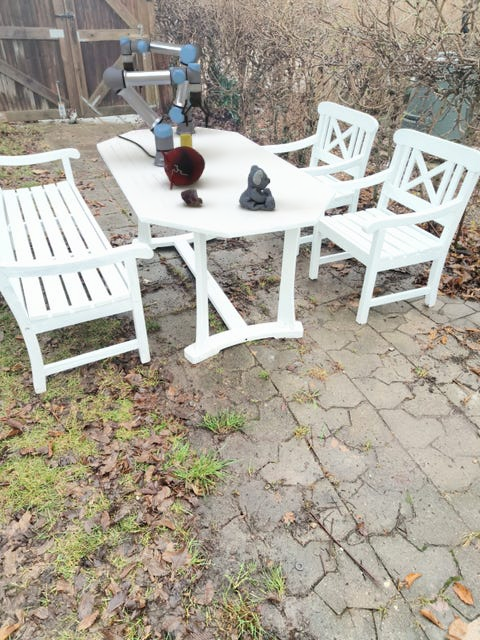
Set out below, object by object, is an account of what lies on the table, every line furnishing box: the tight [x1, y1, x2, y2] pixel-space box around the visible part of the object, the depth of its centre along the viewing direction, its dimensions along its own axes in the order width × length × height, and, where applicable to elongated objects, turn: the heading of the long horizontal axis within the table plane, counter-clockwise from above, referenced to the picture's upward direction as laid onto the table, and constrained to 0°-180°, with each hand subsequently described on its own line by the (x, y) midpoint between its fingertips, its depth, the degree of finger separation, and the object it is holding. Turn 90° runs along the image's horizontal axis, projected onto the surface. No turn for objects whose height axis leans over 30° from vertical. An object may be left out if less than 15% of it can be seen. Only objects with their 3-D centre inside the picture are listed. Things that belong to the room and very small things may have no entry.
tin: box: [179, 134, 194, 149], centre depth 318 cm, size 8×8×11 cm
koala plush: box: [238, 164, 276, 211], centre depth 224 cm, size 17×18×20 cm
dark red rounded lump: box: [161, 145, 206, 190], centre depth 255 cm, size 21×24×25 cm
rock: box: [180, 188, 204, 207], centre depth 229 cm, size 12×9×10 cm
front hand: (197, 126), depth 297 cm, fingers open, 13 cm apart
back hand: (131, 93), depth 349 cm, fingers open, 13 cm apart
